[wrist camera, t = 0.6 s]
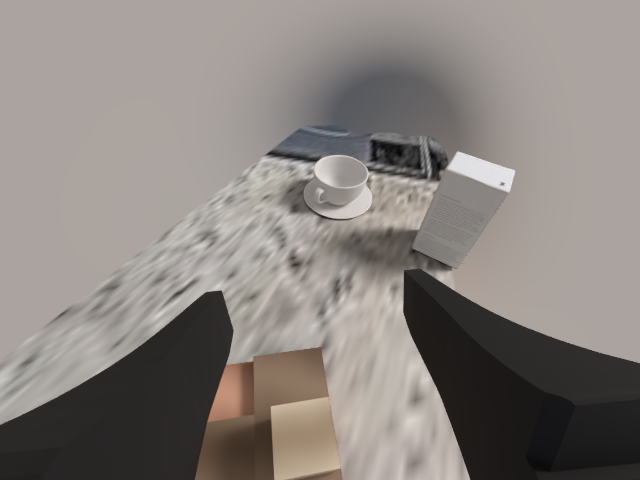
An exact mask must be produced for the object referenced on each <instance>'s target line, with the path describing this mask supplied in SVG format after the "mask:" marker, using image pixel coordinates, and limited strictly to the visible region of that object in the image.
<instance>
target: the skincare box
mask: <svg viewBox="0 0 640 480" xmlns="http://www.w3.org/2000/svg"><path fill="white" fill-rule="evenodd" d="M514 174H515V171H514V170H511V169H508V168H505V167H502V166H499V165H496V164H493V163H490V162H487V161H484V160H481V159H478V158H475V157H473V156H470V155H466V154H464V153H460V152H456V154H455V155H454V157H453V158H452V160H451V161H450V163H449V164H448V166H447V167H446V169H445V171H444V173H443V176H442V178H441V181H440V183H439V185H438V188H437V190H436V192H435V195H434V197H433V199H432V201H431V204H430V206H429V208H428V211H427V213H426V215H425V217H424V220H423V222H422V224H421V226H420V229H419V231H418V233H417V235H416V238H415V240H414V242H413V245H412V249H414V250H416V251H419V252H421V253H423V254H425V255H427V256H429V257H432V258H434V259H436V260H438V261H440V262H442V263H444V264H447V265H449V266H451V267H453V268H455V269H458V268H459V266H460V265H461V263H462V262H463V261H464V259H465V258H466V256H467V254H468V253H469V252H470V250H471V248H472V247H473V246H474V244H475V242H476V241H477V240H478V238H479V237H480V236H481V234H482V233H483V231H484V230H485V228H486V227H487V225H488V224H489V222H490V221H491V219H492V218H493V216H494V215H495V213H496V212H497V210H498V209H499V207H500V206H501V204H502V203H503V201H504V200H505V199H506V197H507V196H508V195H509V193H510V189H511V185H512V182H513V178H514Z"/></svg>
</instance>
